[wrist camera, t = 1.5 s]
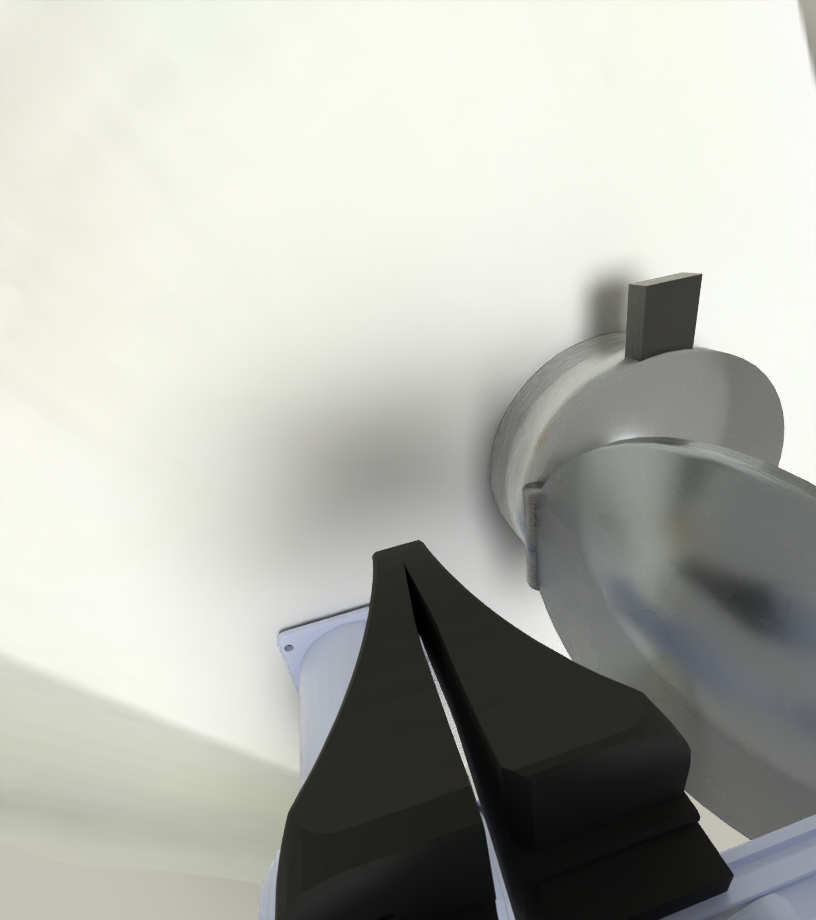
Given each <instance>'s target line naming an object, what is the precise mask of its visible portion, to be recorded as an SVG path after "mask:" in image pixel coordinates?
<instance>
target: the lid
mask: <svg viewBox="0 0 816 920" xmlns="http://www.w3.org/2000/svg"><path fill="white" fill-rule="evenodd" d="M522 493H523V511H524V529H525V547H526V565H527V582H528V584H529V586H530V587H531V588H533V589H535V590H538V591H540V593H541V596H542V599H543V601H544V604H545V607H546V609H547V612H548V614H549V616H550V619H551V621H552V623H553V625H554V628H555V630H556V631H557V633H558V635H559V637H560V639H561V641H562V643H563V645H564V647H565V649H566V650H567V652H568V654H569V655H570V657H571V659H572V660H573V661H574V662H576V663H578V664H580V665H582V666H584V667H586V668H588V669H590V670H592V671H594V672H596V673H598V674H600V675H603V676H605V677H608V678H610V679H612V680H615V681H617V682H620V683H622V684H624V685H627V686H629V687H632V688H634V689H636V690H639V691H641V692H643V693H644V694H645V695H646V696H647V697H648V698H649V699H650V700H651V701H652V702H653V703H654V704H655V705H656V706H657V707H658V708H659V710H660V711H661V712H662V713H663V714H664V715H665V716H666V717H667V718H668V719H669V720H670V721H671V722H672V724H673V725H674V726H675V727H676V729H677V730H678V731H679V732H680V734H681V735H682V736H683V738H684V739H685V740H686V741H687V743H688V745H689V747H690V749H691V764H690V769H689V773H688V777H687V781H686V785H685V789H684V790H685V791H686V792H687V793H689V794H690V795H691V796H692V797H693V798H695V799H696V800H697V801H698V802H699V803H700V804H701V805H703V806H704V807H706V808H707V809H708V810H709V811H711V812H712V813H713V814H715V815H716V816H717V817H719V818H720V819H721V820H723V821H724V822H725V823H727V824H728V825H729V826H731V827H732V828H734V829H735V830H737V831H738V832H740V833H741V834H743V835H744V836H746V837H747V838H749V839H750V840H753V839H756V838H758V837H761V836H763V835H766V834H768V833H771V832H773V831H776V830H778V829H781V828H783V827H786V826H788V825H791V824H793V823H796V822H798V821H801V820H803V819H806V818H808V817H811V816H813V815H816V486H815V485H813V484H811V483H810V482H808V481H806V480H804V479H802V478H799V477H797V476H795V475H793V474H791V473H789V472H787V471H785V470H783V469H781V468H778V467H776V466H774V465H772V464H770V463H768V462H765V461H763V460H760V459H757V458H754V457H751V456H749V455H746V454H743V453H740V452H738V451H735V450H732V449H729V448H725V447H721V446H717V445H713V444H708V443H704V442H700V441H696V440H688V439H680V438H672V437H637V438H630V439H624V440H618V441H615V442H612V443H609V444H606V445H603V446H600V447H598V448H595V449H593V450H591V451H589V452H587V453H585V454H582V455H580V456H578V457H576V458H574V459H573V460H571V461H569V462H567V463H565V464H564V465H562V466H561V467H560V468H559V469H558V470H557V471H555V472H554V473H553V474H552V475H551V476H550V478H549V479H548V480H547V481H546V483H545V482H539V481H537V482H530V483H528V484H526V485H524V486H523V488H522Z"/></svg>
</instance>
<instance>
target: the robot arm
mask: <svg viewBox="0 0 816 920" xmlns="http://www.w3.org/2000/svg"><path fill="white" fill-rule="evenodd" d="M372 559H373V583H372V593H371V599H370V606H368V607H365V608H361V609H358V610H354V611H351V612H348V613H344V614H341V615H337V616H334V617H331V618H327V619H324V620H321V621H317V622H314V623H310V624H307V625H304V626H300V627H297V628H293V629H290V630H287V631H283V632H281V633H280V634H279V635H278V637H277V644H278V646H279V649H280V651H281V653H282V656H283V658H284V660H285V663H286V665H287V667H288V670H289V672H290V674H291V676H292V679H293V681H294V683H295V686H296V688H297V690H298V693H299V695H300V792H299V794H298V795H297V797H296V799H295V801H294V803H293V805H292V807H291V808H290V810H289V812H288V816H287V820H286V825H285V829H284V834H283V839H282V844H281V848H280V849H278V850H277V852H276V854H275V859H273V861H272V862H271V863H270V865H269V866H268V868H267V869H266V871H265V873H264V876H263V880H262V886H261V894H260V903H259V914H258V920H816V815H813V816H811V817H808V818H806V819H803V820H801V821H798V822H796V823H793V824H791V825H788V826H786V827H783V828H781V829H778V830H776V831H773V832H771V833H768V834H766V835H763V836H761V837H758V838H756V839H753V840H751V841H748V842H746V843H743V844H741V845H739V846H736V847H733V848H731V849H728V850H726V851H723V852H721V853H719V852H718V851H717V849H716V848H715V847H714V845H713V844H712V842H711V841H710V839H709V838H708V836H707V835H706V834H705V832H704V831H703V829H702V828H701V826H700V825H699V823H698V822H697V821H699V820H700V815H699V813H698V810H697V809H696V808H695V806H694V805H693V803H692V802H691V801H690V799H689V798H688V796H687V795H686V794H685V792H684V789H685V785H686V781H687V777H688V773H689V769H690V764H691V749H690V747H689V745H688V743H687V741H686V740H685V739H684V738H683V736H682V735H681V734H680V732H679V731H678V730H677V729H676V727H675V726H674V725H673V724H672V722H671V721H670V720H669V719H668V718H667V717H666V716H665V715H664V714H663V713H662V712H661V711H660V710H659V708H658V707H657V706H656V705H655V704H654V703H653V702H652V701H651V700H650V699H649V698H648V697H647V696H646V695H645V694H644V693H643V692H641V691H639V690H636V689H634V688H632V687H629V686H627V685H624V684H622V683H620V682H617V681H615V680H612V679H610V678H608V677H605V676H603V675H600V674H598V673H596V672H594V671H592V670H590V669H588V668H586V667H584V666H582V665H580V664H578V663H576V662H574V661H572V660H570V659H568V658H566V657H565V656H563V655H561V654H559V653H558V652H556V651H554V650H552V649H550V648H549V647H547V646H545V645H543V644H542V643H540V642H538V641H536V640H535V639H533V638H531V637H530V636H528V635H527V634H525V633H524V632H522V631H521V630H519V629H518V628H516V627H515V626H513V625H512V624H510V623H509V622H507V621H506V620H505V619H503V618H502V617H500V616H499V615H498V614H496V613H495V612H494V611H492V610H491V609H490V608H489V607H487V606H486V605H485V604H484V603H482V602H481V601H480V600H479V599H478V598H476V597H475V596H474V595H473V594H472V593H471V592H469V591H468V590H467V589H466V588H465V587H464V586H463V585H462V584H461V583H460V582H459V581H458V580H456V579H455V578H454V577H453V576H452V575H451V574H450V573H449V572H448V571H447V570H446V569H445V568H444V567H443V566H442V565H441V563H440V562H439V561H438V560H437V559H436V558H435V557H434V556H433V554H432V553H431V552H430V551H429V550H428V548H427V547H426V546H425V544H424V543H423V542H421V541H420V540H417V541H413V542H410V543H406V544H403V545H399V546H395V547H392V548H388V549H384V550H381V551H377V552H375V553H374V555H373V556H372ZM287 645H291V646H287ZM424 648H425V650H426V652H427V655H428V657H429V660H430V662H431V665H432V667H433V670H434V672H435V674H436V677H437V679H438V682H439V684H440V687H441V689H442V691H443V694H444V696H445V699H446V701H447V704H448V706H449V708H450V711H451V714H452V717H453V719H454V722H455V725H456V728H457V731H458V734H459V737H460V740H461V743H462V747H463V750H464V753H465V756H466V759H467V763H468V766H469V769H470V772H471V776H472V779H473V782H474V785H475V788H476V791H477V795H478V798H479V800H478V801H476V798H475V795H474V792H473V789H472V785H471V783H470V779H469V776H468V775H467V773H466V770H465V767H464V765H463V762H462V759H461V757H460V754H459V751H458V748H457V745H456V743H455V740H454V737H453V734H452V732H451V729H450V726H449V723H448V721H447V718H446V715H445V712H444V709H443V706H442V703H441V701H440V698H439V695H438V692H437V689H436V686H435V683H434V680H433V677H432V674H431V671H430V669H429V666H428V663H427V659H426V654H425V650H424Z"/></svg>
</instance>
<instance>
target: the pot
mask: <svg viewBox="0 0 816 920" xmlns="http://www.w3.org/2000/svg"><path fill="white" fill-rule="evenodd" d="M701 281H702V274H698V273H678V274H674V275H669V276H664V277H660V278H655V279H651V280H646V281H642V282H637V283H632V284H629V293H628V310H627V327H626V332H618V333H611V334H605V335H601V336H598V337H594V338H591V339H588V340H585V341H583V342H581V343H579V344H577V345H574V346H572V347H570V348H569V349H567V350H565V351H564V352H562V353H560V354H559V355H557V356H556V357H554V358H553V359H552V360H551V361H549V362H548V363H547V364H545V365H544V366H543V367H542V368H541V369H540V370H539V371H538V372H537V373H535V374H534V375H533V376H532V377H531V378H530V379H529V381H528V382H527V383H526V384H525V385H524V387H523V388H522V389H521V390H520V391H519V393H518V394H517V396H516V397H515V399H514V400H513V402H512V403H511V405H510V406H509V408H508V410H507V412H506V414H505V416H504V417H503V419H502V421H501V424H500V426H499V429H498V432H497V434H496V437H495V441H494V445H493V449H492V455H491V463H490V480H491V486H492V492H493V496H494V499H495V502H496V505H497V507H498V508H499V510H500V512H501V514H502V516H503V517H504V518H505V520H506V521H507V522H508V524H509V525H510V526H511V527H512V529H513V530H514V531H515V533H516V534H517V535H518V537H519V538H520V539H521V540H522V542H523V543H524V544H525V529H524V511H523V493H522V488H523V486H524V485H526V484H528V483H530V482H537V481H539V482H545V483H546V481H547V480H548V479H549V478H550V476H551V475H552V474H553V473H554V472H555V471H557V470H558V469H559V468H560V467H561V466H562V465H564V464H565V463H567V462H569V461H571V460H573V459H574V458H576V457H578V456H580V455H582V454H585V453H587V452H589V451H591V450H593V449H595V448H598V447H600V446H603V445H606V444H609V443H612V442H615V441H618V440H624V439H630V438H637V437H672V438H680V439H688V440H696V441H700V442H704V443H708V444H713V445H717V446H721V447H725V448H729V449H732V450H735V451H738V452H740V453H743V454H746V455H749V456H751V457H754V458H757V459H760V460H763V461H765V462H768V463H770V464H772V465H774V466H776V467H778V465H779V461H780V458H781V453H782V447H783V441H784V418H783V411H782V407H781V403H780V399H779V397H778V394H777V392H776V390H775V388H774V386H773V385H772V383H771V382H770V380H769V379H768V378H767V376H766V375H765V374H764V373H763V372H762V371H761V370H760V369H758V368H757V367H756V366H755V365H753V364H751V363H750V362H748V361H746V360H745V359H743V358H740V357H737V356H734V355H731V354H728V353H724V352H720V351H715V350H711V349H707V348H703V347H699V346H694V345H693V343H694V335H695V327H696V320H697V312H698V304H699V296H700V288H701Z"/></svg>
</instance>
